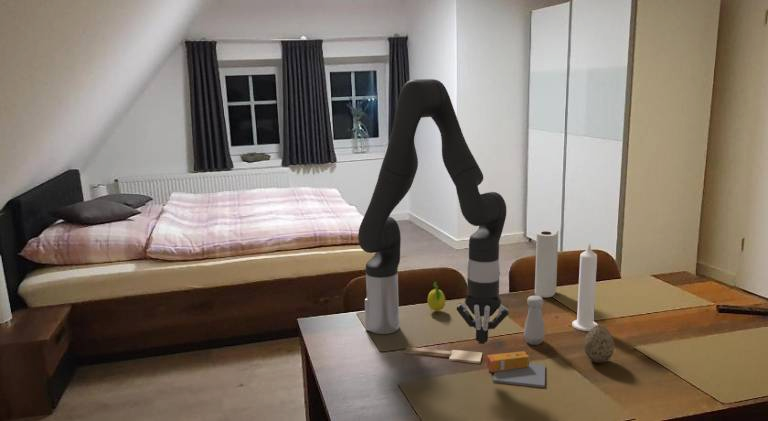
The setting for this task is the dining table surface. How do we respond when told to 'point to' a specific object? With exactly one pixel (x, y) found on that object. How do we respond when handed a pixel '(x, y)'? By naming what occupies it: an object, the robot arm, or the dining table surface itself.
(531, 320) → the salt shaker
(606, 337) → the decorative egg
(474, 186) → the robot arm
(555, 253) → the paper towel roll
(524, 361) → the supplement box
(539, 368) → the mat
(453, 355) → the turner
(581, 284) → the candle
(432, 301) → the lemon
